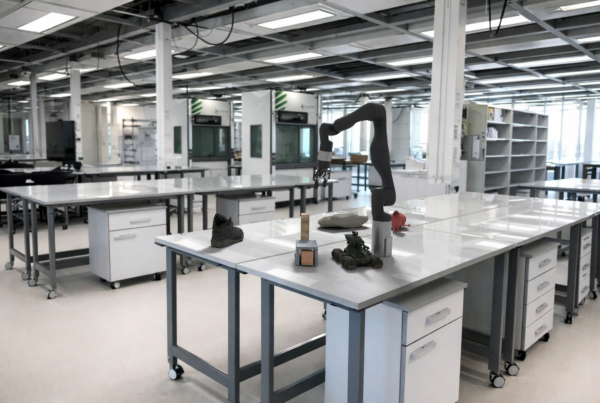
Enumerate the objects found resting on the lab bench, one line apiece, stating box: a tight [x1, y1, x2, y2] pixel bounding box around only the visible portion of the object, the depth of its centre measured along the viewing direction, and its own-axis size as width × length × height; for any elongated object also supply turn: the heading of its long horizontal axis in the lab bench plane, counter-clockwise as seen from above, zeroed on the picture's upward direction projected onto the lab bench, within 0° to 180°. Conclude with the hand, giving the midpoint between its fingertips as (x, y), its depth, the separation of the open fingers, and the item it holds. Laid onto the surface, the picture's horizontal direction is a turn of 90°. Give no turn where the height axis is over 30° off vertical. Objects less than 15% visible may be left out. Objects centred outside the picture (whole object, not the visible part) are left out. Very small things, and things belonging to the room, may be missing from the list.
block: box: [300, 249, 314, 264], centre depth 212 cm, size 5×5×5 cm
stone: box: [317, 212, 369, 229], centre depth 306 cm, size 33×9×20 cm
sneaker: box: [210, 212, 245, 248], centre depth 256 cm, size 12×29×17 cm, turn 165°
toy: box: [390, 210, 411, 233], centre depth 302 cm, size 18×17×30 cm
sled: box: [299, 212, 314, 266], centre depth 222 cm, size 27×5×19 cm, turn 2°
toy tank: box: [330, 230, 384, 271], centre depth 217 cm, size 17×27×14 cm, turn 13°
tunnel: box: [295, 239, 319, 267], centre depth 218 cm, size 14×9×8 cm
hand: (320, 187), depth 265 cm, fingers open, 8 cm apart
